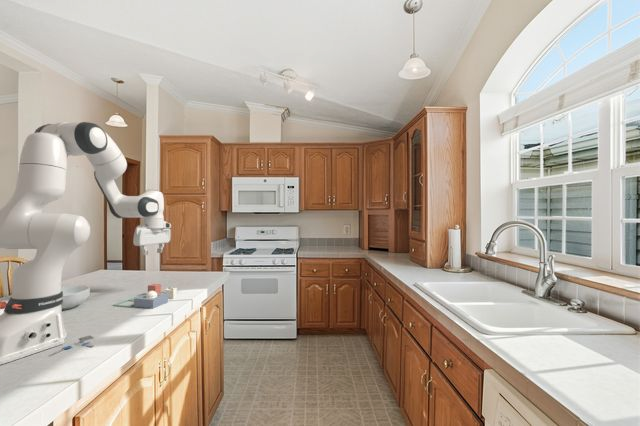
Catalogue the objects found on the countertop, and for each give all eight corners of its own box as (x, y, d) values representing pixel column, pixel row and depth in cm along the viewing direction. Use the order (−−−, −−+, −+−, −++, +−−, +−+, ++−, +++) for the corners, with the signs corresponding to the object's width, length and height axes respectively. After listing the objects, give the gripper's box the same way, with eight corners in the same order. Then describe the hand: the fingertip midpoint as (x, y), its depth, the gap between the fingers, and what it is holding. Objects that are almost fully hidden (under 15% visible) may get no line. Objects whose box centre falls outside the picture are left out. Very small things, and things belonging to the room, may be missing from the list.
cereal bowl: (44, 304, 129) (44, 287, 129) (93, 299, 136) (93, 283, 136) (29, 316, 114) (29, 297, 114) (84, 311, 121) (85, 293, 121)
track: (130, 307, 127) (130, 306, 127) (112, 305, 128) (112, 304, 128) (168, 293, 149) (168, 292, 149) (152, 291, 151) (152, 291, 151)
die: (173, 298, 140) (173, 288, 140) (164, 298, 139) (164, 288, 139) (176, 296, 144) (176, 286, 144) (167, 296, 143) (168, 286, 143)
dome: (152, 304, 128) (152, 292, 128) (143, 304, 129) (143, 291, 129) (159, 301, 133) (159, 289, 133) (150, 301, 134) (150, 289, 134)
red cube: (155, 295, 144) (155, 286, 144) (147, 295, 144) (147, 285, 144) (161, 293, 148) (161, 284, 148) (153, 292, 148) (153, 283, 148)
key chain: (83, 336, 98) (83, 334, 98) (110, 336, 98) (110, 334, 98) (47, 357, 84) (47, 354, 84) (79, 357, 84) (79, 354, 84)
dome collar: (153, 308, 126) (153, 300, 126) (133, 306, 127) (134, 298, 127) (167, 302, 135) (167, 294, 135) (149, 300, 136) (149, 292, 136)
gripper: (142, 225, 134) (141, 256, 134) (173, 224, 154) (172, 251, 154) (129, 224, 136) (129, 256, 135) (162, 224, 156) (161, 251, 155)
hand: (152, 253), depth 145 cm, fingers open, 8 cm apart
